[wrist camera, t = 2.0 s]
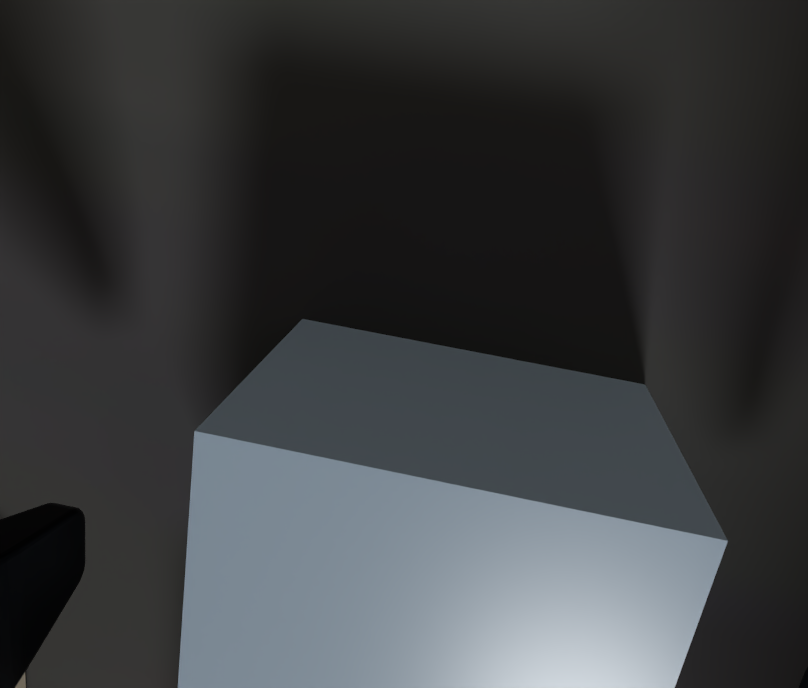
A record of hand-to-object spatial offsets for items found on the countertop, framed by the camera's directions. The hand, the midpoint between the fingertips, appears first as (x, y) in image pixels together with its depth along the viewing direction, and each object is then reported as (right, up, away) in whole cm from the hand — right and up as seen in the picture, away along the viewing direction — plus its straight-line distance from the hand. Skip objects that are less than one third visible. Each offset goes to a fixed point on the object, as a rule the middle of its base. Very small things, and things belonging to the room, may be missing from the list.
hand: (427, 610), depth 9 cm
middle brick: (0, +1, +2) cm, 3 cm away
